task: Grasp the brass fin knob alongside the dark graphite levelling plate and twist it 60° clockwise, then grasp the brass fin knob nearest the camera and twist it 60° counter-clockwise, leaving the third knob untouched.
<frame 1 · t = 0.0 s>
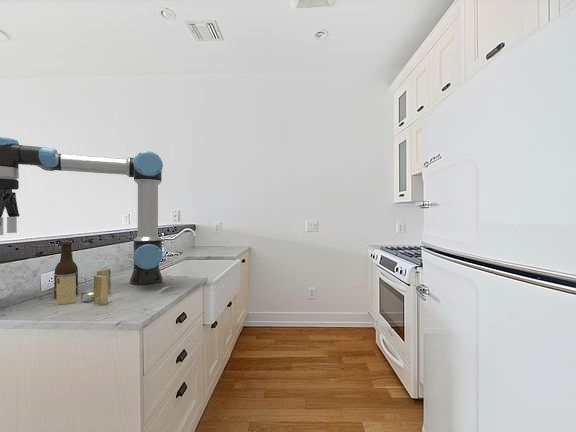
hand: (5, 234, 108), 28 cm above the countertop, fingers open, 13 cm apart
knob C: (103, 282, 120), point 7 cm above the countertop, hinge at 0.0°
beer bottle: (66, 299, 118), on the countertop
knob A: (66, 289, 109), point 7 cm above the countertop, hinge at 0.0°
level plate: (90, 303, 113), on the countertop
knob B: (100, 289, 109), point 7 cm above the countertop, hinge at 0.0°
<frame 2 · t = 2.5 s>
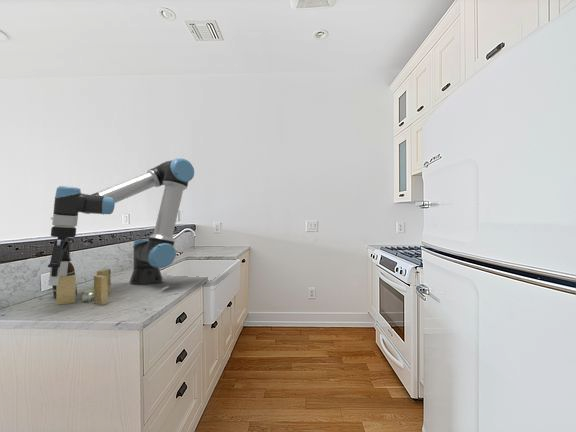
hand: (58, 282, 107), 10 cm above the countertop, fingers open, 13 cm apart
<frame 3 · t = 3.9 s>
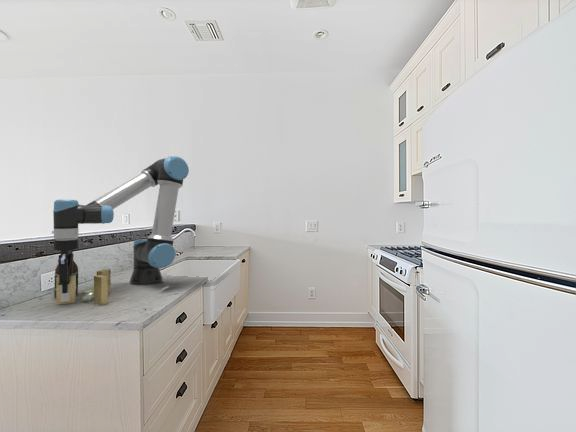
hand: (66, 299, 109), 3 cm above the countertop, fingers closed on knob A, 2 cm apart
knob A: (66, 289, 109), point 7 cm above the countertop, hinge at -0.2°, touching gripper
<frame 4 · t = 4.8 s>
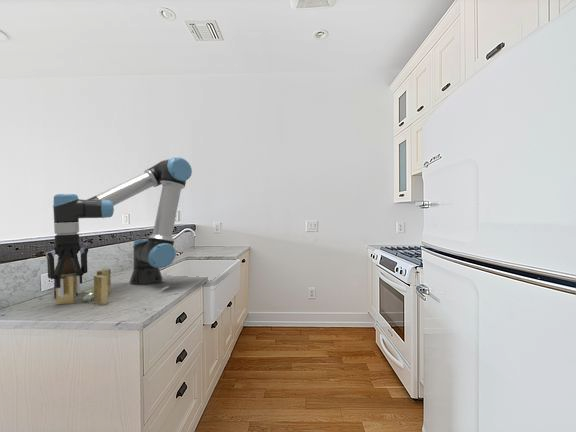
hand: (69, 294, 109), 5 cm above the countertop, fingers closed on knob A, 5 cm apart
knob A: (66, 289, 109), point 7 cm above the countertop, hinge at -15.9°, touching gripper
everything else where it was.
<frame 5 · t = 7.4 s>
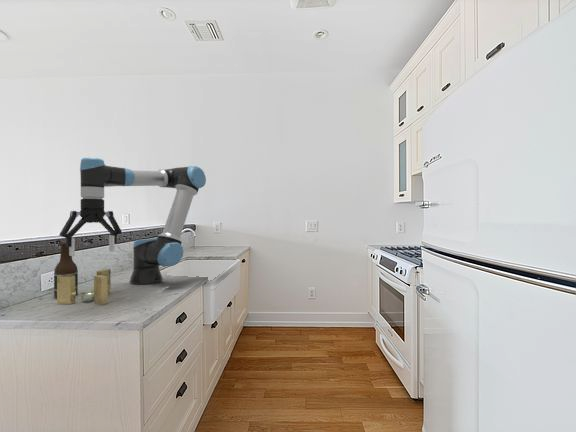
hand: (92, 253, 109), 21 cm above the countertop, fingers open, 13 cm apart
knob A: (66, 289, 109), point 7 cm above the countertop, hinge at -34.8°
everything else where it was.
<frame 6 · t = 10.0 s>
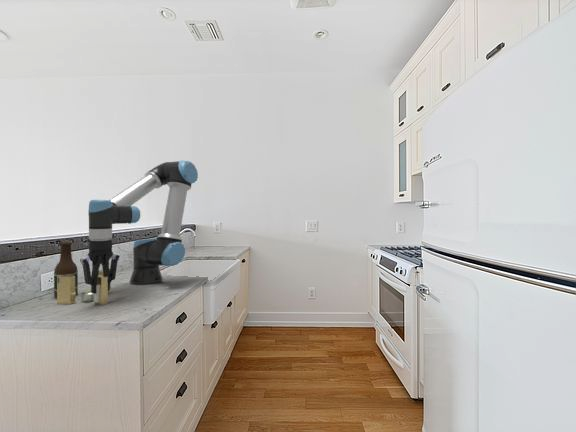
hand: (100, 300, 109), 2 cm above the countertop, fingers closed on knob B, 2 cm apart
knob A: (66, 289, 109), point 7 cm above the countertop, hinge at -36.1°
knob B: (100, 289, 109), point 7 cm above the countertop, hinge at 0.0°, touching gripper
everything else where it was.
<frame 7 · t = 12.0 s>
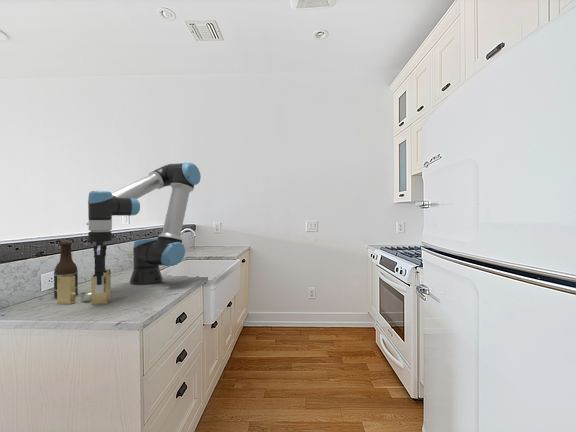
hand: (100, 291, 109), 6 cm above the countertop, fingers closed on knob B, 4 cm apart
knob B: (100, 289, 109), point 7 cm above the countertop, hinge at 33.3°, touching gripper
everything else where it was.
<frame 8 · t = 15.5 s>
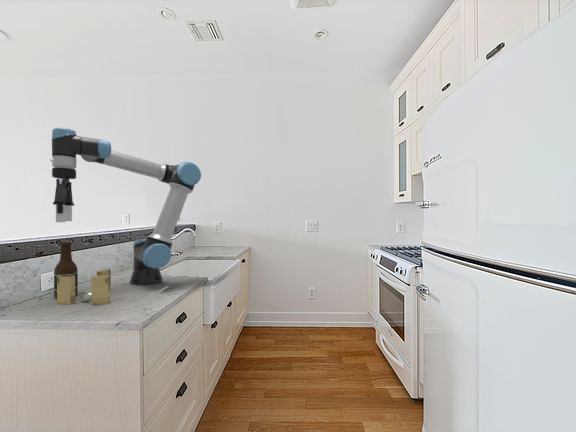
hand: (64, 221, 111), 33 cm above the countertop, fingers open, 13 cm apart
knob B: (100, 289, 109), point 7 cm above the countertop, hinge at 46.4°
everything else where it was.
at the end: knob A at -36° (first picture: +0°); knob B at +46° (first picture: +0°); the gripper is holding nothing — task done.
